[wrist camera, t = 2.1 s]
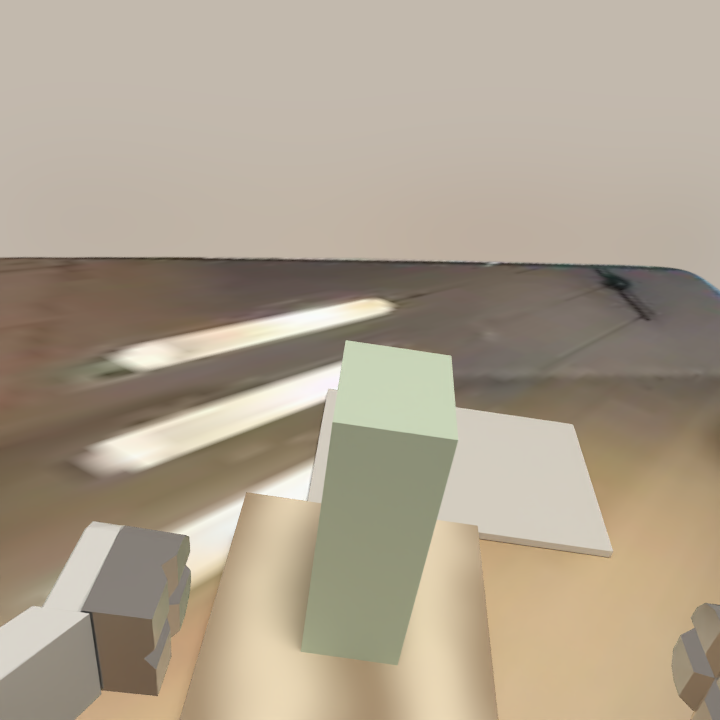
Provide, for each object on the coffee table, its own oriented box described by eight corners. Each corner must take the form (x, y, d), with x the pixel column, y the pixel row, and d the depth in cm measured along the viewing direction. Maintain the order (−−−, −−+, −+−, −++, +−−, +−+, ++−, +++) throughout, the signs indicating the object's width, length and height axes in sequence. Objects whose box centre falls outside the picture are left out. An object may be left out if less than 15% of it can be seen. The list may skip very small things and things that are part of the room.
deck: (180, 777, 27) (178, 722, 25) (243, 545, 37) (246, 492, 35) (478, 818, 27) (503, 767, 25) (461, 577, 37) (477, 525, 35)
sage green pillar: (300, 651, 28) (332, 421, 22) (315, 556, 32) (345, 340, 26) (397, 665, 28) (458, 440, 22) (399, 568, 32) (451, 355, 26)
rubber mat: (305, 513, 40) (306, 507, 40) (327, 394, 50) (328, 388, 50) (610, 557, 40) (613, 551, 40) (570, 429, 50) (572, 424, 50)
